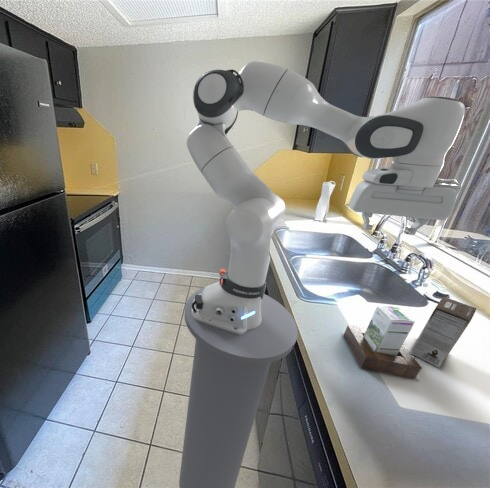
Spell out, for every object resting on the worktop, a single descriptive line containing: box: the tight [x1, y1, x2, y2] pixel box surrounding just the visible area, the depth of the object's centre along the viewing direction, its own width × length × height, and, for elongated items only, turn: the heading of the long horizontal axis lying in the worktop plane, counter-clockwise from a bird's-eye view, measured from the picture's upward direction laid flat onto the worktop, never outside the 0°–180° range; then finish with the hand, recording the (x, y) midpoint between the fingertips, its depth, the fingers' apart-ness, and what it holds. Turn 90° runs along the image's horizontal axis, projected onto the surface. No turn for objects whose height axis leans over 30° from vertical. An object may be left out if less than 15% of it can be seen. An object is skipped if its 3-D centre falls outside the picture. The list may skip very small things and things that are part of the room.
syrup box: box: [364, 305, 416, 356], centre depth 68 cm, size 6×6×14 cm
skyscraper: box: [313, 180, 336, 223], centre depth 177 cm, size 8×8×28 cm
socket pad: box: [343, 324, 423, 380], centre depth 70 cm, size 12×12×4 cm
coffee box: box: [409, 296, 477, 369], centre depth 69 cm, size 9×6×16 cm
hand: (387, 231), depth 66 cm, fingers open, 8 cm apart
